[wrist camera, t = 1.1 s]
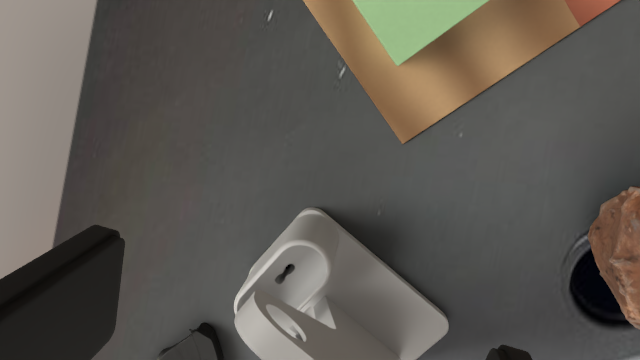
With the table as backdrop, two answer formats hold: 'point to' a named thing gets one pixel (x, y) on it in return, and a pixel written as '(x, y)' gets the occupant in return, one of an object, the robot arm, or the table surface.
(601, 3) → the plate
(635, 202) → the decorative rock
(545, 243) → the table surface
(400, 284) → the phone holder
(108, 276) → the robot arm
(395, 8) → the green block
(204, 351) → the dark sector wedge
